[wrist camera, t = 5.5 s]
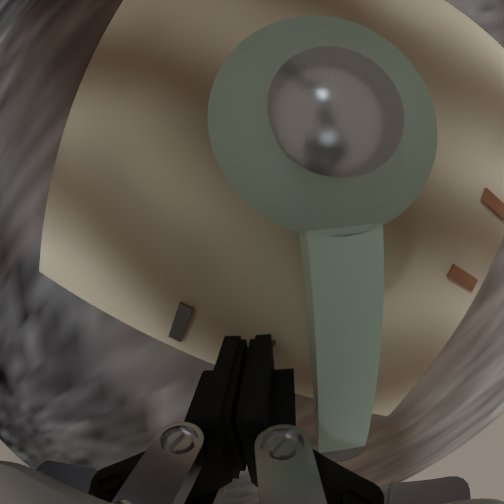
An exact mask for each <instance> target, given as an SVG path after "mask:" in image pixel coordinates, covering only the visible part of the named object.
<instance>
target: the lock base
mask: <svg viewBox="0 0 504 504" xmlns="http://www.w3.org/2000/svg"><path fill="white" fill-rule="evenodd" d="M308 15H314V16H329V17H336V18H341V19H345V20H348V21H352V22H355V23H357V24H360V25H362V26H365V27H367V28H369V29H371V30H372V31H374V32H376V33H378V34H380V35H381V36H382V37H384V38H385V39H387V40H388V41H390V42H391V43H392V44H393V45H394V46H396V47H397V48H398V49H399V50H400V51H401V52H402V53H403V54H404V55H405V56H406V57H407V58H408V59H409V61H410V62H411V63H412V64H413V66H414V67H415V68H416V70H417V71H418V73H419V74H420V76H421V78H422V79H423V81H424V83H425V85H426V87H427V89H428V92H429V94H430V97H431V99H432V102H433V106H434V110H435V114H436V121H437V149H436V156H435V160H434V164H433V167H432V171H431V173H430V175H429V178H428V180H427V182H426V184H425V186H424V187H423V189H422V190H421V192H420V194H419V195H418V196H417V198H416V199H415V200H414V201H413V202H412V204H411V205H410V206H409V207H408V208H407V209H406V210H404V211H403V212H402V213H401V214H400V215H399V216H397V217H396V218H394V219H393V220H391V221H390V222H388V223H387V224H385V225H383V242H384V300H383V322H382V337H381V349H380V360H379V369H378V377H377V385H376V392H375V399H374V405H373V411H372V413H373V414H378V415H383V416H389V414H390V413H391V412H392V411H393V410H394V409H395V408H396V407H397V406H398V405H399V404H400V402H401V401H402V400H403V399H404V398H405V397H406V396H407V394H408V393H409V392H410V391H411V390H412V389H413V387H414V386H415V385H416V384H417V382H418V381H419V380H420V379H421V378H422V376H423V375H424V374H425V372H426V371H427V370H428V369H429V367H430V366H431V365H432V363H433V362H434V361H435V359H436V358H437V356H438V355H439V354H440V352H441V351H442V349H443V348H444V347H445V345H446V344H447V342H448V341H449V339H450V338H451V336H452V335H453V333H454V332H455V330H456V329H457V327H458V325H459V324H460V322H461V321H462V319H463V317H464V316H465V314H466V312H467V311H468V309H469V307H470V306H471V304H472V302H473V300H474V298H475V297H476V295H477V293H478V291H479V289H480V287H481V285H482V284H483V282H484V280H485V278H486V276H487V274H488V272H489V270H490V267H491V265H492V263H493V261H494V259H495V257H496V254H497V252H498V250H499V248H500V245H501V243H502V240H503V238H504V48H503V47H502V46H501V45H500V44H499V43H498V42H497V41H496V40H494V39H493V38H492V37H491V36H490V35H489V34H488V33H487V32H485V31H484V30H483V29H482V28H481V27H479V26H478V25H477V24H476V23H475V22H473V21H472V20H471V19H470V18H468V17H467V16H466V15H464V14H463V13H462V12H460V11H459V10H458V9H456V8H455V7H454V6H452V5H451V4H449V3H448V2H446V1H445V0H123V2H122V3H121V5H120V6H119V8H118V10H117V11H116V13H115V15H114V16H113V18H112V20H111V22H110V23H109V25H108V27H107V29H106V31H105V32H104V34H103V36H102V38H101V40H100V42H99V44H98V46H97V48H96V50H95V52H94V54H93V56H92V58H91V61H90V63H89V65H88V67H87V69H86V72H85V74H84V76H83V79H82V81H81V84H80V86H79V89H78V91H77V94H76V96H75V99H74V102H73V105H72V107H71V110H70V113H69V116H68V119H67V122H66V125H65V129H64V132H63V135H62V139H61V142H60V146H59V149H58V153H57V157H56V161H55V165H54V169H53V174H52V178H51V183H50V188H49V193H48V199H47V205H46V211H45V218H44V225H43V233H42V242H41V253H40V267H39V271H40V272H41V273H42V274H44V275H45V276H47V277H48V278H50V279H51V280H53V281H54V282H56V283H57V284H59V285H61V286H62V287H64V288H65V289H67V290H68V291H70V292H72V293H73V294H75V295H76V296H78V297H80V298H81V299H83V300H85V301H86V302H88V303H90V304H92V305H93V306H95V307H97V308H98V309H100V310H102V311H104V312H105V313H107V314H109V315H111V316H113V317H115V318H116V319H118V320H120V321H122V322H124V323H126V324H128V325H129V326H131V327H133V328H135V329H137V330H139V331H141V332H143V333H145V334H147V335H149V336H151V337H153V338H155V339H157V340H159V341H161V342H164V343H166V344H168V345H170V346H172V347H174V348H176V349H179V350H181V351H183V352H185V353H188V354H190V355H192V356H195V357H197V358H199V359H202V360H204V361H206V362H209V363H211V364H214V365H215V364H216V361H217V358H218V355H219V352H220V348H221V345H222V342H223V339H224V337H225V336H241V339H246V340H247V345H248V346H249V340H250V339H255V335H263V334H271V337H272V347H273V357H274V367H275V369H290V368H294V387H295V394H298V395H302V396H305V397H308V398H312V399H314V397H313V388H312V379H311V362H310V346H309V332H308V319H307V307H306V296H305V285H304V275H303V265H302V256H301V247H300V238H299V232H296V231H293V230H290V229H287V228H284V227H282V226H280V225H278V224H276V223H274V222H272V221H270V220H269V219H267V218H266V217H264V216H263V215H261V214H260V213H258V212H257V211H255V210H254V209H253V208H252V207H251V206H250V205H248V204H247V203H246V202H245V201H244V200H243V199H242V198H241V197H240V196H239V195H238V194H237V192H236V191H235V190H234V189H233V188H232V186H231V185H230V183H229V182H228V181H227V179H226V178H225V176H224V174H223V172H222V171H221V169H220V167H219V165H218V163H217V160H216V158H215V155H214V152H213V150H212V146H211V142H210V137H209V132H208V120H207V116H208V102H209V97H210V93H211V88H212V86H213V83H214V80H215V77H216V75H217V73H218V71H219V69H220V68H221V66H222V64H223V62H224V61H225V60H226V58H227V57H228V56H229V54H230V53H231V52H232V51H233V50H234V48H235V47H236V46H237V45H238V44H239V43H241V42H242V41H243V40H244V39H245V38H247V37H248V36H249V35H251V34H252V33H254V32H255V31H257V30H259V29H261V28H263V27H264V26H266V25H269V24H271V23H274V22H277V21H279V20H283V19H287V18H292V17H298V16H308Z"/></svg>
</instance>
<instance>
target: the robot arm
mask: <svg viewBox="0 0 504 504" xmlns="http://www.w3.org/2000/svg"><path fill="white" fill-rule="evenodd" d="M246 464H247V467H248V471H249V474H250V478H251V481H252V483H253V484H254V485H255V486H257V487H258V491H259V502H260V504H504V502H503V501H500V500H496V499H483V498H482V499H470V489H469V486H468V483H467V482H466V481H465V480H464V479H462V478H459V477H445V478H438V479H431V480H422V481H413V482H400V483H391V484H390V486H377V485H376V484H374V483H373V482H371V481H369V480H367V479H365V478H363V477H361V476H359V475H357V474H355V473H353V472H351V471H350V470H348V469H346V468H344V467H342V466H341V465H339V464H337V463H335V462H334V461H332V460H330V459H328V458H327V457H325V456H323V455H322V454H320V453H318V452H317V451H315V450H313V449H312V446H311V442H310V439H309V437H308V435H307V433H306V432H305V431H303V430H302V429H301V428H299V427H296V416H295V387H294V368H290V369H275V367H274V357H273V347H272V337H271V334H263V335H255V339H250V340H249V346H248V345H247V340H246V339H241V336H225V337H224V339H223V342H222V345H221V348H220V352H219V355H218V358H217V361H216V364H215V367H214V370H213V371H209V370H205V371H203V373H202V375H201V378H200V380H199V383H198V386H197V388H196V391H195V394H194V397H193V399H192V402H191V405H190V407H189V410H188V413H187V415H186V418H185V421H184V422H175V423H172V424H169V425H167V426H165V427H163V428H162V429H161V430H160V431H159V432H158V433H157V434H156V436H155V438H154V439H153V441H152V442H151V444H150V445H149V447H148V448H147V450H146V451H144V452H142V453H140V454H137V455H135V456H133V457H130V458H128V459H125V460H123V461H120V462H118V463H115V464H113V465H110V466H108V467H105V468H103V469H101V470H99V471H97V470H96V469H95V468H91V467H84V466H77V465H71V464H65V463H60V462H55V461H46V462H43V463H42V464H40V465H39V466H38V468H37V470H35V469H32V468H30V467H27V466H24V465H21V464H17V463H13V462H7V461H0V504H219V503H220V501H221V498H222V496H223V493H224V489H225V486H226V485H227V484H229V483H231V482H232V479H233V478H238V479H239V473H240V471H245V469H246Z"/></svg>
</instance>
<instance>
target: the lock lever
mask: <svg viewBox="0 0 504 504" xmlns="http://www.w3.org/2000/svg"><path fill="white" fill-rule="evenodd" d="M207 120H208V132H209V137H210V142H211V146H212V150H213V152H214V155H215V158H216V160H217V163H218V165H219V167H220V169H221V171H222V172H223V174H224V176H225V178H226V179H227V181H228V182H229V183H230V185H231V186H232V188H233V189H234V190H235V191H236V192H237V194H238V195H239V196H240V197H241V198H242V199H243V200H244V201H245V202H246V203H247V204H248V205H250V206H251V207H252V208H253V209H254V210H255V211H257V212H258V213H260V214H261V215H263V216H264V217H266V218H267V219H269V220H270V221H272V222H274V223H276V224H278V225H280V226H282V227H284V228H287V229H290V230H293V231H296V232H299V238H300V247H301V256H302V265H303V275H304V285H305V296H306V307H307V319H308V332H309V346H310V362H311V379H312V388H313V397H314V407H315V418H316V429H317V441H318V453H320V454H322V455H323V456H325V457H327V458H328V459H330V460H332V461H334V462H337V461H344V460H348V459H351V458H353V457H355V456H357V455H359V454H360V453H361V452H362V451H363V450H364V449H365V447H366V443H367V438H368V433H369V428H370V423H371V417H372V411H373V405H374V399H375V392H376V385H377V377H378V369H379V360H380V349H381V337H382V322H383V300H384V242H383V225H385V224H387V223H388V222H390V221H391V220H393V219H394V218H396V217H397V216H399V215H400V214H401V213H402V212H403V211H404V210H406V209H407V208H408V207H409V206H410V205H411V204H412V202H413V201H414V200H415V199H416V198H417V196H418V195H419V194H420V192H421V190H422V189H423V187H424V186H425V184H426V182H427V180H428V178H429V175H430V173H431V171H432V167H433V164H434V160H435V156H436V149H437V121H436V114H435V110H434V106H433V102H432V99H431V97H430V94H429V92H428V89H427V87H426V85H425V83H424V81H423V79H422V78H421V76H420V74H419V73H418V71H417V70H416V68H415V67H414V66H413V64H412V63H411V62H410V61H409V59H408V58H407V57H406V56H405V55H404V54H403V53H402V52H401V51H400V50H399V49H398V48H397V47H396V46H394V45H393V44H392V43H391V42H390V41H388V40H387V39H385V38H384V37H382V36H381V35H380V34H378V33H376V32H374V31H372V30H371V29H369V28H367V27H365V26H362V25H360V24H357V23H355V22H352V21H348V20H345V19H341V18H336V17H329V16H314V15H308V16H298V17H292V18H287V19H283V20H279V21H277V22H274V23H271V24H269V25H266V26H264V27H263V28H261V29H259V30H257V31H255V32H254V33H252V34H251V35H249V36H248V37H247V38H245V39H244V40H243V41H242V42H241V43H239V44H238V45H237V46H236V47H235V48H234V50H233V51H232V52H231V53H230V54H229V56H228V57H227V58H226V60H225V61H224V62H223V64H222V66H221V68H220V69H219V71H218V73H217V75H216V77H215V80H214V83H213V86H212V88H211V93H210V97H209V102H208V116H207Z"/></svg>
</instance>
